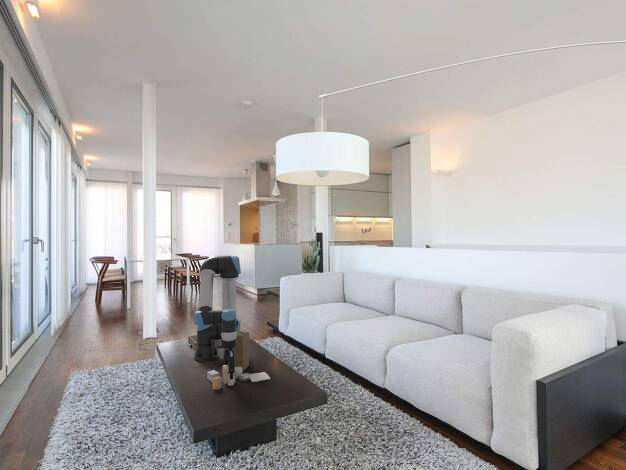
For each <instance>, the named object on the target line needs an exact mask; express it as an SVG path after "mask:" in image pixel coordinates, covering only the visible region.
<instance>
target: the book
mask: <svg viewBox="0 0 626 470" xmlns="http://www.w3.org/2000/svg"><path fill="white" fill-rule="evenodd" d="M187 342H189V343H190V344H191V345H192V347H191V348H192V349H193V351H195V350H196V347H197V334H195V335H188V338H187ZM189 343H188V344H189ZM190 344H189V345H190ZM191 345H190V346H191ZM216 346H217V348H223V347H222V340H216Z"/></svg>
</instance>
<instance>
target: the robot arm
mask: <svg viewBox="0 0 626 470" xmlns="http://www.w3.org/2000/svg"><path fill="white" fill-rule="evenodd" d="M240 264H241V261H240V257H239V256H237V255H213V256H210V257H208V258H206V259H205V260H204V261H203V262H202V264H201V265H200V268H199V271H198V276H199V278H200V280H199V282H200V283H199V296H198V297H199V298H198V310H197V311H194V314H193V323H194V326H197V327H196V335H197V347H196V350H194V354H193V359H194V360H195V361H198V362H209V361H210V362H211V361H212V360H216V359H218V358H219V355H220V354H219V350H218V347H217V346H216V340H222V347H221V348H222V349H223V358H222V363H223V365H228V369H229V372H227V373H228V384H227V386H228V387H229V386H234V385H235V383H234V372H235V366H234V352H233V350H232V348H233V347H235V346H236V331H238V332H241V331H240V330H241V320H239V317H238V316H237V280H238V278H239V277H240V276H239V275H241V274H242V271H241V265H240ZM216 275H219V278H220V279H221V280H222V281H221V282H222V283H221V285H222V286H221V287H222V291H221V292H222V294H221V295H222V296H221V298H222V299H221V300H222V301H221V302H222V303H221V305H222V306H221V310H217V309H216V310H213V308H214V307H213V306H214V305H213V304H214V303H213V302H214V279H215V277H216Z"/></svg>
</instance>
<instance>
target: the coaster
mask: <svg viewBox="0 0 626 470" xmlns="http://www.w3.org/2000/svg"><path fill="white" fill-rule="evenodd" d="M249 380H250V381H251V383H256V382H263V381H267V380H271V377H270V376H269V374H268V373H266V371H261V372H255V373H249Z"/></svg>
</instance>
